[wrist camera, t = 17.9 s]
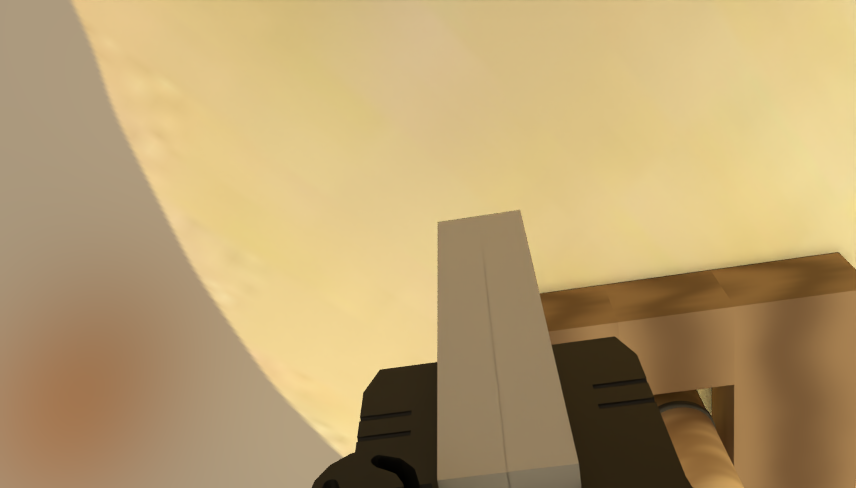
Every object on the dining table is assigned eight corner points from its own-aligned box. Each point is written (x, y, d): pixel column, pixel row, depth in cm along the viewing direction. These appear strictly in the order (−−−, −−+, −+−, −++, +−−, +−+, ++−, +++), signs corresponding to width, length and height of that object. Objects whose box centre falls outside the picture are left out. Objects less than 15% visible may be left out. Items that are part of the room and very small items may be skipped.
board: (838, 252, 44) (874, 287, 40) (823, 471, 51) (852, 517, 47) (482, 301, 45) (485, 340, 42) (514, 506, 52) (520, 554, 49)
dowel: (693, 357, 47) (753, 476, 38) (694, 412, 49) (752, 538, 40) (623, 366, 47) (666, 485, 38) (626, 420, 49) (668, 547, 40)
